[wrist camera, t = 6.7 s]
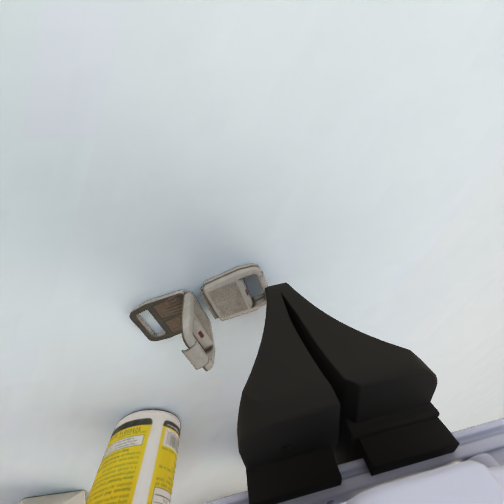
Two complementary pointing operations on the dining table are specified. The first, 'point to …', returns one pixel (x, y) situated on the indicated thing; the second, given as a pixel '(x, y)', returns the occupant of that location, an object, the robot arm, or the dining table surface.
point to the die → (58, 498)
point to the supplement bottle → (139, 461)
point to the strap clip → (202, 312)
